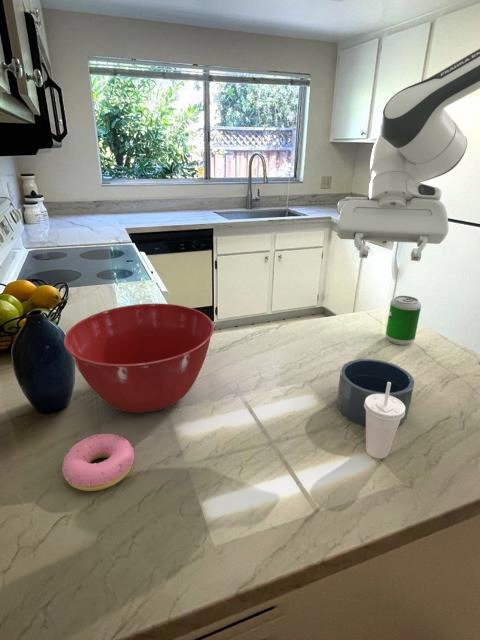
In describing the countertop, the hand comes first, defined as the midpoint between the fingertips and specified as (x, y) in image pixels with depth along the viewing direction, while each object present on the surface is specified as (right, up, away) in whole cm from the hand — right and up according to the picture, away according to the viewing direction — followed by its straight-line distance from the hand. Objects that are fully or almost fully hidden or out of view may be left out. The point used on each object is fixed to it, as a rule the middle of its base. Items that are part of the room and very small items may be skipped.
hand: (389, 257), depth 76 cm
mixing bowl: (-48, -28, +9) cm, 56 cm away
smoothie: (-5, -35, -6) cm, 35 cm away
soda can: (+16, -17, +35) cm, 42 cm away
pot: (-2, -29, +6) cm, 30 cm away
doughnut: (-51, -36, -11) cm, 63 cm away
